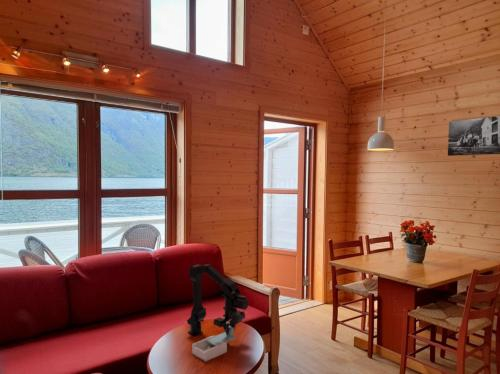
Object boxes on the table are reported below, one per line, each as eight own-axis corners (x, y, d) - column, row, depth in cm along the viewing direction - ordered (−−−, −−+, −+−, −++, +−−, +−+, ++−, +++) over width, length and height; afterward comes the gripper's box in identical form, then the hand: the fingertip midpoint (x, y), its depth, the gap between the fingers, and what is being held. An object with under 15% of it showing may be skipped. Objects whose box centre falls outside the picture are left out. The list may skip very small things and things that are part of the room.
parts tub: (192, 353, 180) (192, 343, 180) (213, 344, 191) (213, 335, 190) (205, 361, 173) (205, 351, 173) (226, 351, 183) (226, 342, 183)
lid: (205, 341, 185) (206, 331, 185) (225, 333, 195) (225, 324, 195) (216, 346, 179) (216, 337, 179) (236, 338, 189) (236, 328, 189)
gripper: (227, 314, 179) (226, 344, 179) (252, 305, 192) (252, 333, 193) (213, 308, 187) (212, 337, 187) (238, 300, 200) (238, 327, 200)
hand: (229, 333), depth 192 cm, fingers open, 3 cm apart
